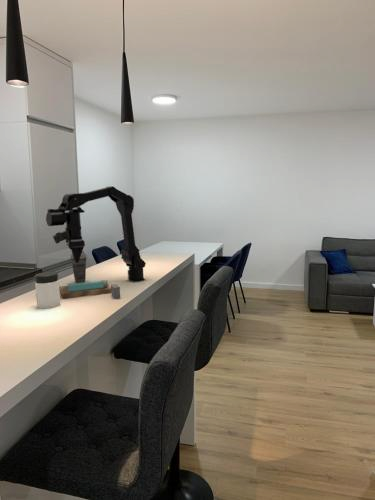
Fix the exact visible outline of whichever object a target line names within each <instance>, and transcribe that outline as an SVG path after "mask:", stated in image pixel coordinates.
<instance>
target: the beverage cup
mask: <svg viewBox="0 0 375 500" xmlns="http://www.w3.org/2000/svg"><path fill="white" fill-rule="evenodd" d="M70 262H71V265H72V270H73V271H72V272H73V277H74V284H76V283H85V282H86V279H87V277H86V275H87V274H86V271H87V270H86V269H87V267H86V266H87V254H86V253H85V251H84V250H83V251H82V253H81V256H80V259H79V262H78V263H76V262H75V260H74V258H73V254H72V253H71V254H70Z"/></svg>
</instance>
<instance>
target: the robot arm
mask: <svg viewBox="0 0 375 500" xmlns="http://www.w3.org/2000/svg"><path fill="white" fill-rule="evenodd" d="M107 197H109V199H110V200H111V201H112V202H113V203H114V204H115V206H116V209H117V211H118V213H119V215H120V219H121V227H122V234H123V243H124V248H123V249H121V250H120V253H121V259H122V261H123V262H124V263H125V265H126V267H128V270H127V279H128V280H129V281H130V282H139V281H145V280H146V279H145V277H144V268H145V267H146V264H147V263H146V262H145V261H144V259H142V257H141V255H140V250H139V249H138V247H137V246H136V241H135V240H136V239H135V231H134V226H133V225H134V224H133V211H134V207H135V199H134V197H133V196H131V195H130V194H126V193H125V192H123V191H121V190H119V189H117V187H115V186H106V187H103V188H99V189H95V190H91V191H86V192H82V193H81V192H79V193H77V192H76V193H65V194H64V195H63V197H62V200H61V203H60V204H59V206H58V208H54V209H53V208H48V209H47V213H46V216H45V221H46V225H47V226H48V227H56V226H57V227H59V226H64V225H65V224H66V225H65V228H64V229H65V230H63V231H59V232H56V233H55V234H54V235H52V238H53V241H54V242H55V244H59V243H60V242H62V241H65V244H66V246H67V247H68V248H69V250H71V254H73V258H74V260H75V262H76V263H78V262H79V259H80V256H81V253H82V251H84V248H85V246H86V244H85V243H86V242H85V240H84V239H83V236H82V225H81V214H82V213H85V210H84V209H83V208H82V206H83V205H85V204H86V203H88V202H91V201H97V200H99V199H104V198H107Z"/></svg>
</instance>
